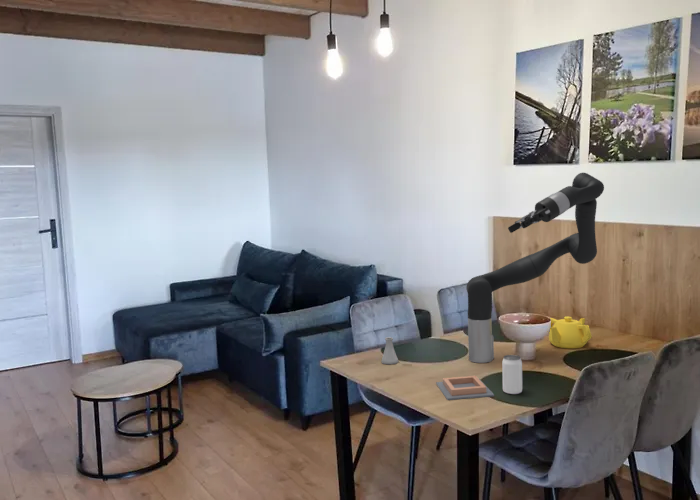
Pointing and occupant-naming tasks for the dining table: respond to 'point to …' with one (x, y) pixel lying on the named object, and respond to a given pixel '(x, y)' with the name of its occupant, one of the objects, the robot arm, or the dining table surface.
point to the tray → (463, 388)
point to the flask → (389, 353)
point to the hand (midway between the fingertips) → (515, 228)
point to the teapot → (569, 333)
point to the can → (512, 374)
